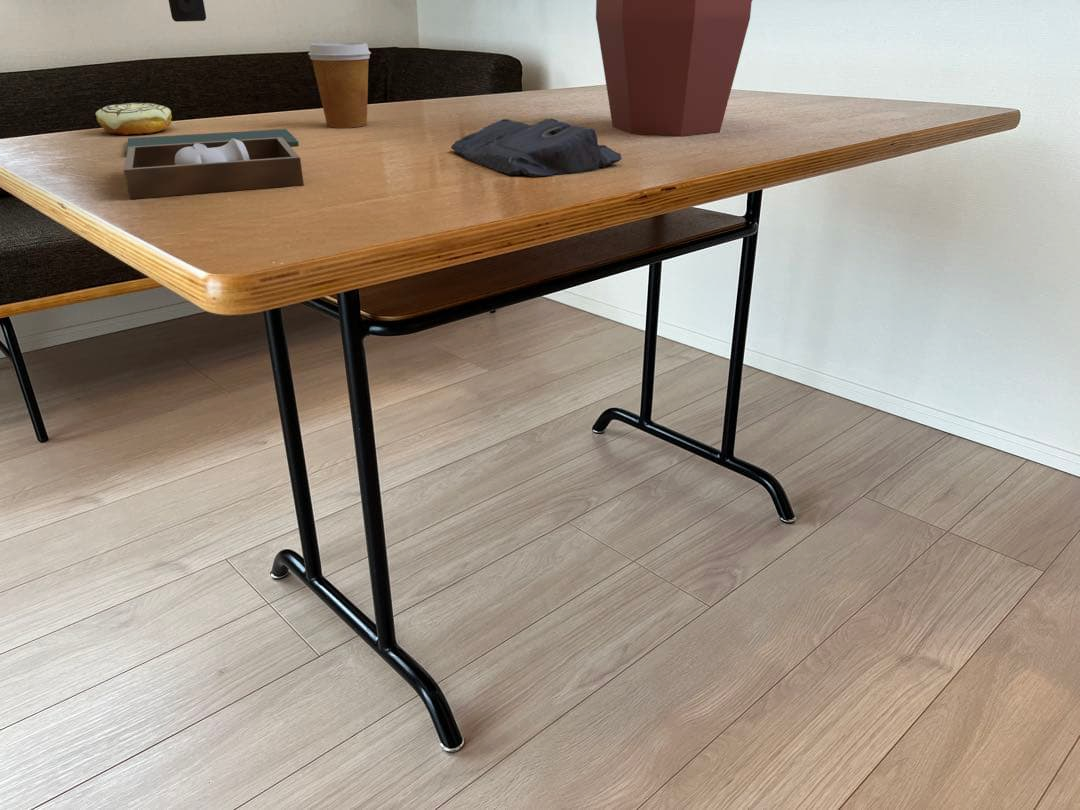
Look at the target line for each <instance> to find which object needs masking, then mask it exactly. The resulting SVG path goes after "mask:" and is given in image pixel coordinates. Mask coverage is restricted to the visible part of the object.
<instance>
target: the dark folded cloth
mask: <svg viewBox="0 0 1080 810" xmlns="http://www.w3.org/2000/svg"><path fill="white" fill-rule="evenodd" d="M597 135H598V134H597V131H596V129H595V128H587V127H584V126H580V125H571V124H570V123H567V122H564V121H559V120H557V119H555V118H546V119H542V120H541V121H537V122H536V123H534V124H528V123H525V122H522V121H521V122H520V121H514V120H511V119H508V118H504V119H501V120H497V121H496V122H493V123H491V124H489V125H487V126H484V127H483V128H482V129H480V130H478V131H476V132H472V133H470V134H468V135H466V136H464V137H462V138H460V139H459V140H458V139H457V140H456V141H454V143H453V144H452V145H451V146H450V148H451V150H453V151H454V152H455V153H457V155H458V156H460V157H462V158H464V159H467V160H468V161H470V162H473V163H475V164H478V165H481V166H483V167H486V168H489V169H492V170H494V171H496V172H500V173H504V174H506V175H509V176H521V175H525V176H526V177H527V176H528V177H530V178H537V177H546V176H554V175H564V174H571V173H572V174H573V173H574V174H575V173H584V172H591V171H595V170H597V169H600V168H601V169H603V168H606V167H608V166H610V165H613V164H615V163H618V162H620V161H621V160H622V158H623V157H622V155H621V153H620V152H617V151H614V150H613V149H612V148H610V147H608V146H607V145H606V144H599V142H598V136H597Z"/></svg>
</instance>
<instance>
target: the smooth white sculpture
mask: <svg viewBox="0 0 1080 810" xmlns="http://www.w3.org/2000/svg"><path fill="white" fill-rule="evenodd" d="M240 160H250V159H249V155H248V152H247V150H246V147H245V145H244V144H243V142H241V141H239V140H236V139H234V138H232V139H231V140H230V141H229V142H228V143H227V144H226V145H223V146H220V147H214V148H207V147H206V146H205V145H203V144H199V143H196V144H194V145H193V147H185V148H182V149H180V150H179V151H178V152H177V153H176V155H175V165H184V164H198V163H212V162H226V161H240Z"/></svg>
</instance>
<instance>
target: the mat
mask: <svg viewBox="0 0 1080 810" xmlns="http://www.w3.org/2000/svg"><path fill="white" fill-rule="evenodd" d="M275 137H283V139H284V140H285V141H286V142H287V143H288V144H289V146H290V147H299V144H300V143H299V141H298V140H297V139H296V138H295V136H293V134H291V132H290V131H289V130H288V129H287V128H277V129H261V130H247V131H245V130H244V131H227V132H211V133H193V134H176V135H159V136H144V137H141V136H140V137H128V138H127V142H126V146H125V152H124V154H125V155H124V156H125V158H126V157H127V152H128V147H131V146H147V145H163V144H179V143H195V142H211V141H227V140H231V139H232V138H234V139H236V140H243V139H259V138H275Z"/></svg>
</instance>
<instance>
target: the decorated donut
mask: <svg viewBox="0 0 1080 810" xmlns="http://www.w3.org/2000/svg"><path fill="white" fill-rule="evenodd" d="M95 116H96V121H97V123H98V124H99V126H101V128H102V129H103V130H104V131H105V132H107V133H109V134H116V135H122V136H123V135H124V136H129V135H146V134H153V133H154V134H155V133H158V132H162V131H167V130H169V128H170V126H171V124H172V118H173V116H172V110H171V109H170V108H169V107H167V106H165V105H161V104H157V103H148V102H129V103H121V104H110V105H106V106H104V107H102V108H99V109H98V110H97V111H96V112H95Z"/></svg>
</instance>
